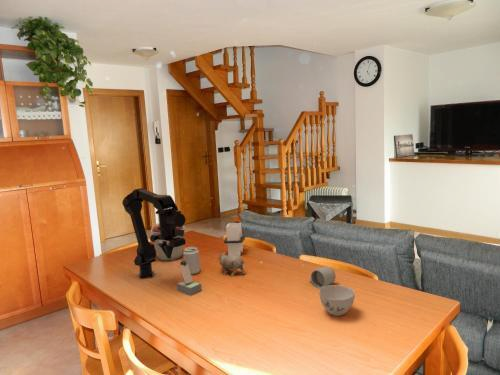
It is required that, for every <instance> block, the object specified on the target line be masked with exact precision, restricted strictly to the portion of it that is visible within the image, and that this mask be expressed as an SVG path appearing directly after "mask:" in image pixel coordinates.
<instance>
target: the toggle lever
mask: <svg viewBox="0 0 500 375" xmlns="http://www.w3.org/2000/svg"><path fill="white" fill-rule="evenodd" d="M179 266H180V271H181V273H182V276H183V279H184V280H183V281H185V283H186V284H187V283H190V282H192V281H194V280H193V276H192V274H191V273H190V270H189V267H188V264H187V263H186V261H184V260H181V262H180V265H179Z"/></svg>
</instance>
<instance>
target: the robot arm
mask: <svg viewBox="0 0 500 375" xmlns="http://www.w3.org/2000/svg"><path fill="white" fill-rule="evenodd" d="M143 202H147V203H150V204H152V206H153V208H155V209H156V211H155V214H156V215H158V225H159V226H160V227H158V230H160V233H157V234H151V235H150V237H149V238H148V234H147V231H146V227H145V223H144V220H143V216H142V209H143ZM122 206H123V208H124V210H125V211H124V212H126V213H127V214H129V216H130V219H131V223H132V227H133V230H134V233H135V237H136V242H137V249H136V255H135V258H134V259H133V263H134V265H135V266H138V267H139V276H138V278H139V279H145V278H146V279H148V278H153V277H154V272H155V271H153V266H152V265H153V264H152V263H155V262H156V261H157V260H156V259H157V253H156V248H155V244H154V242H155V241H156V240H159V243H158V245H159V246H160V247H161V249H162V250H163V252H164V253H165V255H166V257H167V258H168V259H170V258H171V255H172V251H173V248H174V247H178V246H182V245H183V246H184V245H186V243H187V242H186V241H187V240H186V238H184V235H185V229H184V230H181V229H177V228H176V227H182V226H185V223H186V217H185V215H184V214H183V213H182V211H181V210H179V208H178V205H177V204H176V202H175V201H174V199H173V197H172V196H171V195H169V194H157V193H155V192H152V191H151V190H147V189H146V188H144V187H139V188H135V189H133V190H132V192H130V193H129V194H127V195H126V196H125V197H124V198H123V200H122ZM177 236H181V237H183V238H181V237H177ZM174 237H177V238H174Z"/></svg>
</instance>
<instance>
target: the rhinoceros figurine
mask: <svg viewBox="0 0 500 375" xmlns="http://www.w3.org/2000/svg"><path fill="white" fill-rule="evenodd" d="M217 255H218V257H219V258H218V260H219V264H220V265H221V267H222V269H223V275H227V274H228V271H229V270H230V271H231V270H232V272H231V274H230V276H231V277H233V276H235V274H236V273H237V270H238V269H239V270H241V272H242V273H241V275H242V276H246V271H245V268H244V264H245V261H244V259H243V257H242V256H241V255H240V256H239V255H233V254H231V255H228V254H227V255H226V252H223V253H222V254H219V253H217Z"/></svg>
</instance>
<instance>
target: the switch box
mask: <svg viewBox="0 0 500 375" xmlns="http://www.w3.org/2000/svg"><path fill="white" fill-rule="evenodd" d="M176 291H177V292H180V293H183V294H185V295H188V296H193V295H195V294H197V293H200V292H202V291H203V290H202V283H200V282H196V281H194V280H193V281H192V282H190V283H187V284H186V283H185V280H183V281H181V282H178V283H176Z"/></svg>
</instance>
